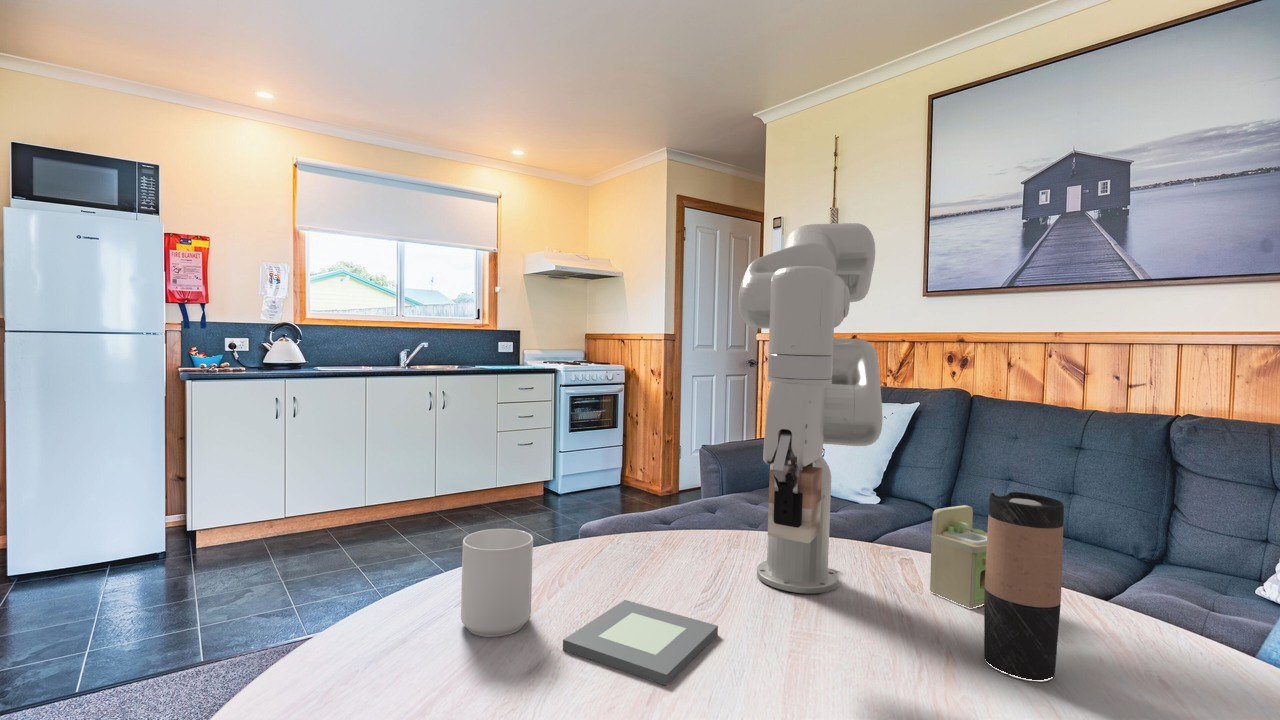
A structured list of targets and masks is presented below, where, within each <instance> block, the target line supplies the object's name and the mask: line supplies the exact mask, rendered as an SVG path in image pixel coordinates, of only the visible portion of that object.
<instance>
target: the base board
mask: <svg viewBox="0 0 1280 720" xmlns="http://www.w3.org/2000/svg"><path fill="white" fill-rule="evenodd" d="M718 630H719V625H717V624H713V623H710V622H705V621H703V620H699V619H695V618H692V617H688V616H684V615H681V614H677V613H674V612H670V611H667V610H663V609H659V608H656V607H654V606H653V607H652V606H649V605H645V604H642V603H638V602H635V601H630V600H628V599H627V600H626V599H624V600H622V601H621V602H619V603H618V604H616V605H614V606H613V607H612V608H610V609H609V610H607V611H605V612H604V613H602V614H601V615H599V616H598V617H596V618H594V619H593V620H591V621H590V622H588V623H586V625H583V626H582V627H581V628H579V629H578V630H576V631H574V632H573V633H571V634H570V635H568V636H566V637H564V638H562V650H563V651H566V652H569V653H572V654H574V655H578V656H580V657H582V658H586V659H589V660H591V661H595V662H597V663H600V664H603V665H606V666H609V667H612V668H615V669H617V670H620V671H624V672H626V673H629V674H632V675H635V676H637V677H640V678H644V679H646V680H649V681H651V682H655V683H657V684H660V685H663V686H667V685H668V684H670V682H671V681H673V679H675V678H676V677H677V676H678V675H679V674H680V673H681V672H682V671H683V670H684V669H685V667H687V666H688V665H690V663H691V662H692V661H693V660H694V659H695V658H696V657H698V655H699V654H700V653H701V652H702V651H703V650H704V649H705V648H706V647H708V645H709V644H710V643H711V642H712V641H713V640H715V638H717V636H718V634H719V631H718Z"/></svg>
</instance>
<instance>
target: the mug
mask: <svg viewBox="0 0 1280 720" xmlns="http://www.w3.org/2000/svg"><path fill="white" fill-rule="evenodd" d="M533 550H534V536H533V535H532V534H530V532H527V531H524V530H519V529H515V528H514V529H513V528H490V529H484V530H483V529H482V530H480V531H479V530H478V531H475V532H472V533H469V534H467V535H466V536H465V537H463V539H462V557H461V558H462V559H461V591H460V593H461V594H460V596H461V598H460V599H461V600H460V620H461V623H462V624H463V626H464V627H465V628H466V629H467V630H468V631H469V632H470V633H472V634H473V635H476V636H480V637H486V638H487V637H488V638H491V637H492V638H495V637H503V636H508V635H511V634H513V633H516V632H518V631H519V630H521V629H522V628H523V626H524V625H525V624H526V623H527V622H528V621H529V620H530V618H531V614H532V593H533V592H532V591H533V590H532V589H533V585H532V584H533V561H534V560H533V555H534V551H533Z"/></svg>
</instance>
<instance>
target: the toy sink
mask: <svg viewBox="0 0 1280 720" xmlns="http://www.w3.org/2000/svg"><path fill="white" fill-rule="evenodd" d="M973 510H974V509H973V507H972V506H969V505H967V504H966V505H965V504H963V505H956V506H948V507H943V508H936V509H934V511H933V512H932V519H931V544H930V546H931V548H930V551H931V552H930V575H929V577H930V578H929V579H930V580H929V582H930V583H929V592H930V591H931V592H933V593H935V594H938V595H940V596H942V597H945V598H947V599H949V600H952V601H954V602H956V603H958V604H961V605H964V606H966V607H969V608H973V607H976V606H979V605H982V604H984V595H985V569H986V551H987V531H986V532H985V530H982V529H980V528H974V527H973V518H974V517H973V515H974V514H973V513H974V511H973ZM931 592H930V593H931Z"/></svg>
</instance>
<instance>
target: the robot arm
mask: <svg viewBox="0 0 1280 720" xmlns="http://www.w3.org/2000/svg"><path fill="white" fill-rule="evenodd" d="M875 260H876V243H875V239H874V235H873V233H872V232H871V230H870V229H869V227H868V226H867V225H865V224H863V223H859V222H858V223H857V222H853V223H852V222H851V223H850V222H849V223H845V222H843V223H817V224H816V223H815V224H813V223H812V224H805V225H802V226H798V227H797V228H795V229H794V230H793V231H791V232H790V233H789V235H788V236H787V238H786V240H785V242H784V246H783V249H780V250H777V251H775V252H772V253H768V254H766V255H763V256H760V257H757V258H756V259H755V260H753V261H752V262H751V263H750V264H749V265H748V267H746V271H745V273H744V275H743V277H742V280H741V283H740V286H739V290H738V291H739V292H738V299H737V300H738V301H737V306H738V311H739V312H738V313H739V315H740V317H741V320H742V321H743V322H744V324H745V325H747V326H748V327H751V328H754V329H764V330H765V329H769V332H768V360H767V361H768V362H767V363H768V365H767V381H768V382H770V387H769V391H768V396H767V401H766V413H765V414H766V416H765V425H764V437H763V439H764V440H763V453H762V454H763V455H762V459H763V461H764V463H765V464H766V465H770V466H769V470H770V469H772V468H773V473H774V479H775V483H774V490H775V492H774V523H776V524H780V525H785V526H791V527H796V528H798V527H800V526H801V524H802V497H803V493H799V492H800V484H801V475H802V468H803V467H805V466H810V467H819V468H822V489H821V515H820V533H819V534H818V535H817V536H816V537H815V538H814V539H813V540H812V541H811V542H810V543H804V542H799V541H794V540H788V539H783V538H778V537H773V536H768V535H767V547H766V551H767V553H766V560H765V561H762V562H760V563H759V564H758V565H757V567H756V577H758V579H759V580H760V581H761V582H762V583H764V584H765V585H767V586H770V587H772V588H775V589H777V590H781V591H785V592H789V593H794V594H795V593H796V594H806V595H807V594H809V595H810V594H822V593H828V592H830V591H833V590H834V589H836V588H837V586H838V582H839V577H838V574H836V572H835V571H834V570H832V569H831V568H829V554H830V553H829V551H830V525H831V524H830V521H831V500H832V499H831V495H832V494H831V493H832V472H831V469H830V466H829V464H828V462H827V461H826V460H825V458H824V457H823V456H822V454H823V450H824V449H823V448H824V445H835V446H836V445H837V446H850V447H851V446H852V447H867V446H871V445H873V444H874V443H876V442H877V440H879V437H880V436H881V435H882V429H883V416H884V415H883V401H882V400H883V399H882V389H881V388H882V387H881V377H880V376H881V375H880V364H879V357H878V353H877V350H876V349H875V347H874V346H873V345H872V344H871V343H870V342H868V341H867V340H864V339H859V338H843V337H842V338H836V337H835V336H834V334H835V329H836V328H837V327H838V326H840V325H841V324H842V323H843V322H844V320H845V318H847V317H848V315H849V313H850V312H849V311H850V304H851V303H856V302H860V301H862V300H864V299H865V298H866V297H867V295H868V293H869V291H870V288H871V281H872V276H873V273H874V268H875ZM834 337H835V338H834ZM788 464H796V465H797V466H794V465H788ZM788 471H795V474H794V480H793V476H792V473H788Z"/></svg>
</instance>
